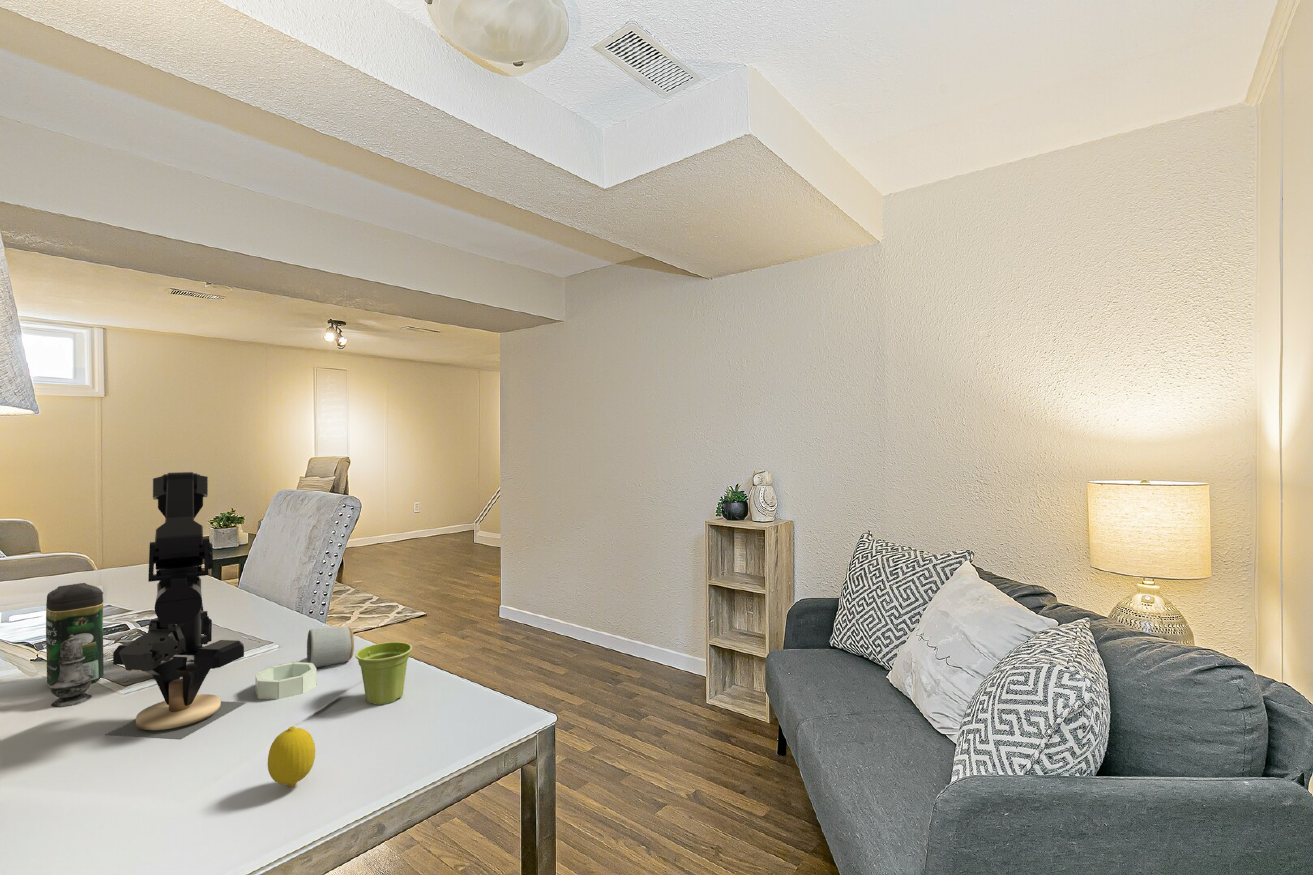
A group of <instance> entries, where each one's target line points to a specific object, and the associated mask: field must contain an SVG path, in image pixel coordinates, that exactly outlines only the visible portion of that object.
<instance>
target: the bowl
mask: <svg viewBox="0 0 1313 875" xmlns="http://www.w3.org/2000/svg"><path fill="white" fill-rule="evenodd" d="M254 678H255V694H256V696H257V699H260V700H261V699H262V700H282V699H286V698H289V697H295V696H299V695H303V694H305V693H306V692H308V691H310V690H312V689H313V688H315V687H316V686H317V667H315V666H314V664H313V663H307V662H300V661H299V662H298V661H297V662H296V661H295V662H288V663H284V664H278V665H273V666H270V667H268V668H266V669H264V670H262V671H260V672H257V673H256V674H255V677H254Z"/></svg>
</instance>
